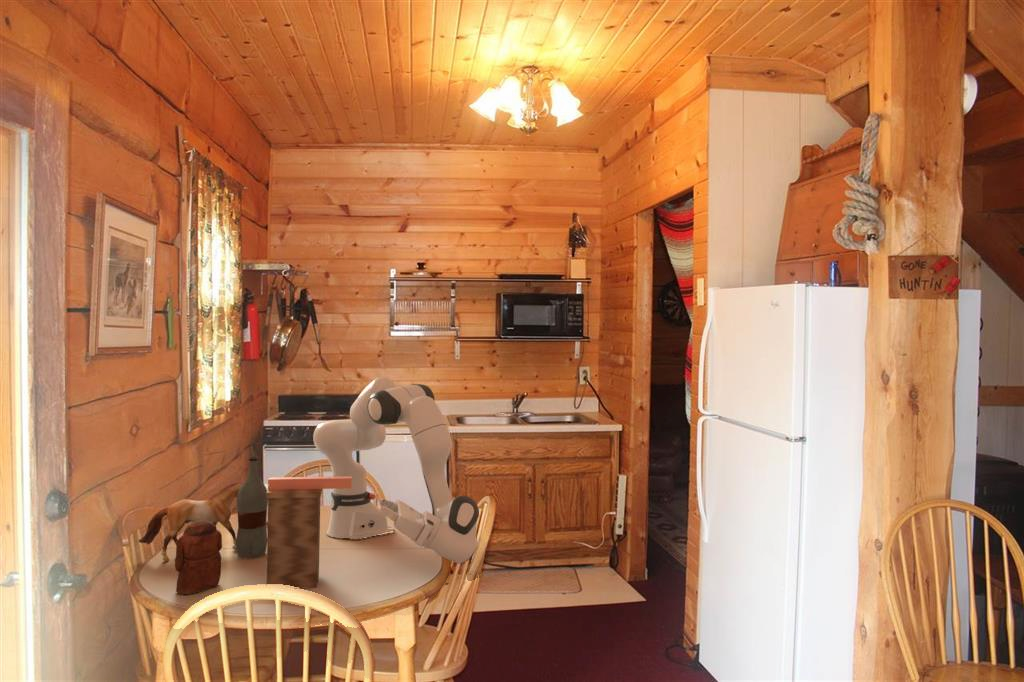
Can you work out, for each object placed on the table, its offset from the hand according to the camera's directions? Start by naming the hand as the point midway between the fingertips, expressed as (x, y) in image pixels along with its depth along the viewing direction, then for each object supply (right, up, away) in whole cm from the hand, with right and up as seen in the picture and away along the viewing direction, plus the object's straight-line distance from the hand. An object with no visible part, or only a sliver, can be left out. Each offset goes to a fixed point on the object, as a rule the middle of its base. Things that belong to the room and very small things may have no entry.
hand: (381, 504), depth 209 cm
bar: (-19, +5, -4) cm, 20 cm away
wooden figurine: (-47, -20, -11) cm, 52 cm away
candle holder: (-52, -19, +61) cm, 83 cm away
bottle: (-43, -20, +20) cm, 52 cm away
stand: (-23, -21, -4) cm, 31 cm away
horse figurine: (-61, -19, +21) cm, 67 cm away
